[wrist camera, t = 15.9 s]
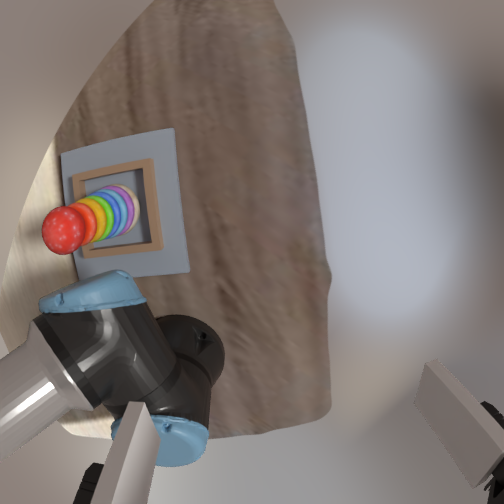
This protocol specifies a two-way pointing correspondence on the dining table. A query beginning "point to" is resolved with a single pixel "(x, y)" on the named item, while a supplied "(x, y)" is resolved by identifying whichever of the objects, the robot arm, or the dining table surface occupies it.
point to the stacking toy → (91, 219)
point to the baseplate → (148, 194)
